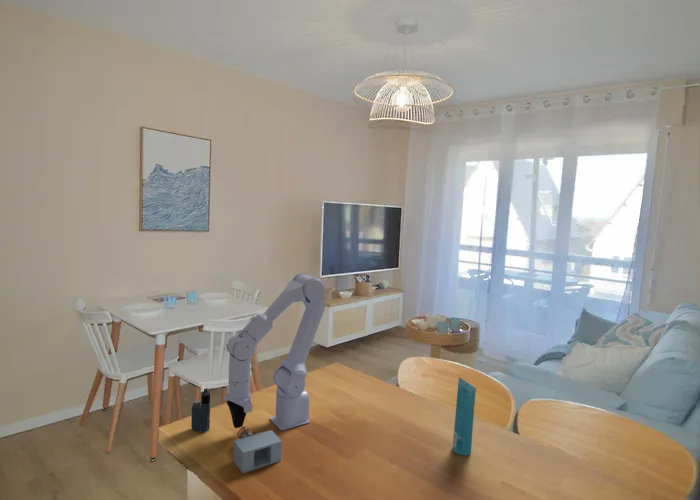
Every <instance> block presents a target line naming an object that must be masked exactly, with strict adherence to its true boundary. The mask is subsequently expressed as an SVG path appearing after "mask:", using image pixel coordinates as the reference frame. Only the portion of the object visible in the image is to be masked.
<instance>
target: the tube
mask: <svg viewBox="0 0 700 500" xmlns="http://www.w3.org/2000/svg"><path fill="white" fill-rule="evenodd" d="M457 382H458V383H457V385H458V386H457V393H456V404H455V418H454V428H453V430H454V431H453V439H452V451H453V452H454V453H455V454H457V455H460V456H469V455H471V453H472V447H473V446H472V444H473V443H472V442H473V440H472V439H473V429H474V417H475V416H474V415H475V406H476V405H475V404H476V402H475V401H476V392H477V391H476V390H477V388H476V387H475V386H474V385H472V384H471V383H469V382H468V381H467V380H464V379H463V378H461V377H460V376H459V377H458V381H457Z"/></svg>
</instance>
